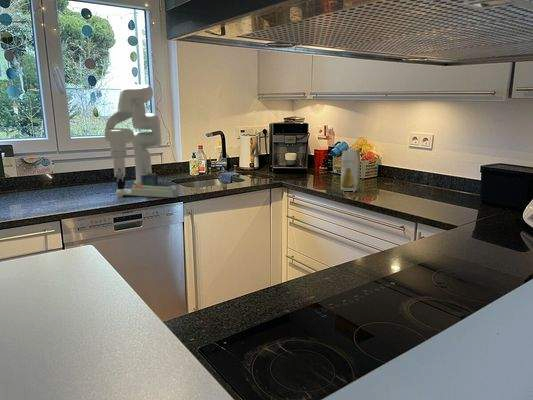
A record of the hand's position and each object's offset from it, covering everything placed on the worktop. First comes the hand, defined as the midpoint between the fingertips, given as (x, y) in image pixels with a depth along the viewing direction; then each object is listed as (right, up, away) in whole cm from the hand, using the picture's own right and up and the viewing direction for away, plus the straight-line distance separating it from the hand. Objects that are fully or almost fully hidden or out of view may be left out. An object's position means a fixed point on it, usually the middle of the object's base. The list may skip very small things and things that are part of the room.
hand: (121, 187), depth 211 cm
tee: (-8, -6, -1) cm, 10 cm away
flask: (+8, -1, +23) cm, 24 cm away
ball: (+10, +1, +3) cm, 10 cm away
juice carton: (+122, -2, +18) cm, 123 cm away
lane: (+11, -5, +4) cm, 13 cm away
